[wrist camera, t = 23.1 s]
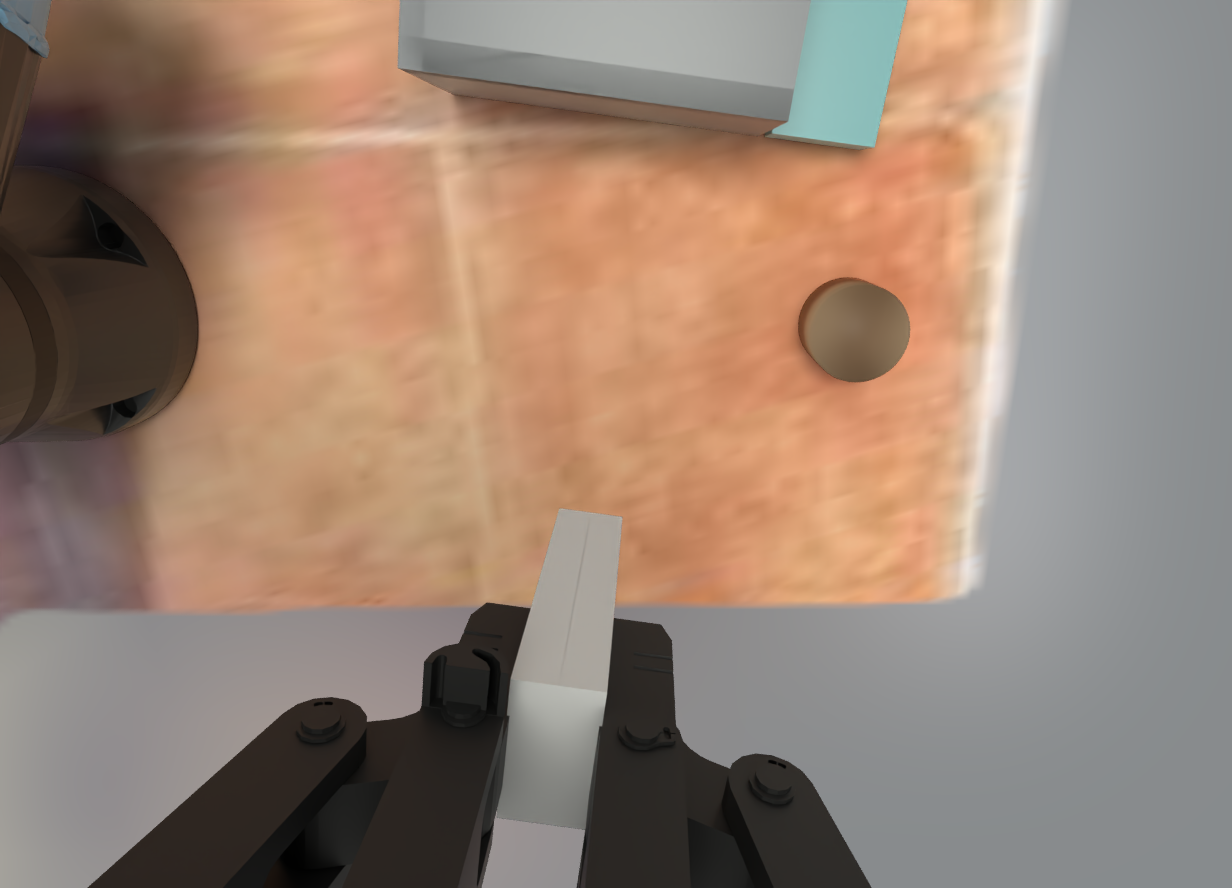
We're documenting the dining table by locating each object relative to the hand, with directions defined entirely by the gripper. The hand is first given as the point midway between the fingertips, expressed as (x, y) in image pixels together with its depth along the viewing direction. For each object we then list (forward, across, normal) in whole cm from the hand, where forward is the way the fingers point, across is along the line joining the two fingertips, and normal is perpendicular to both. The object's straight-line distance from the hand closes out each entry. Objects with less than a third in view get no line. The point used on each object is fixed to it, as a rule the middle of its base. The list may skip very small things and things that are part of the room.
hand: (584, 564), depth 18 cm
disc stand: (+26, +12, +3) cm, 29 cm away
